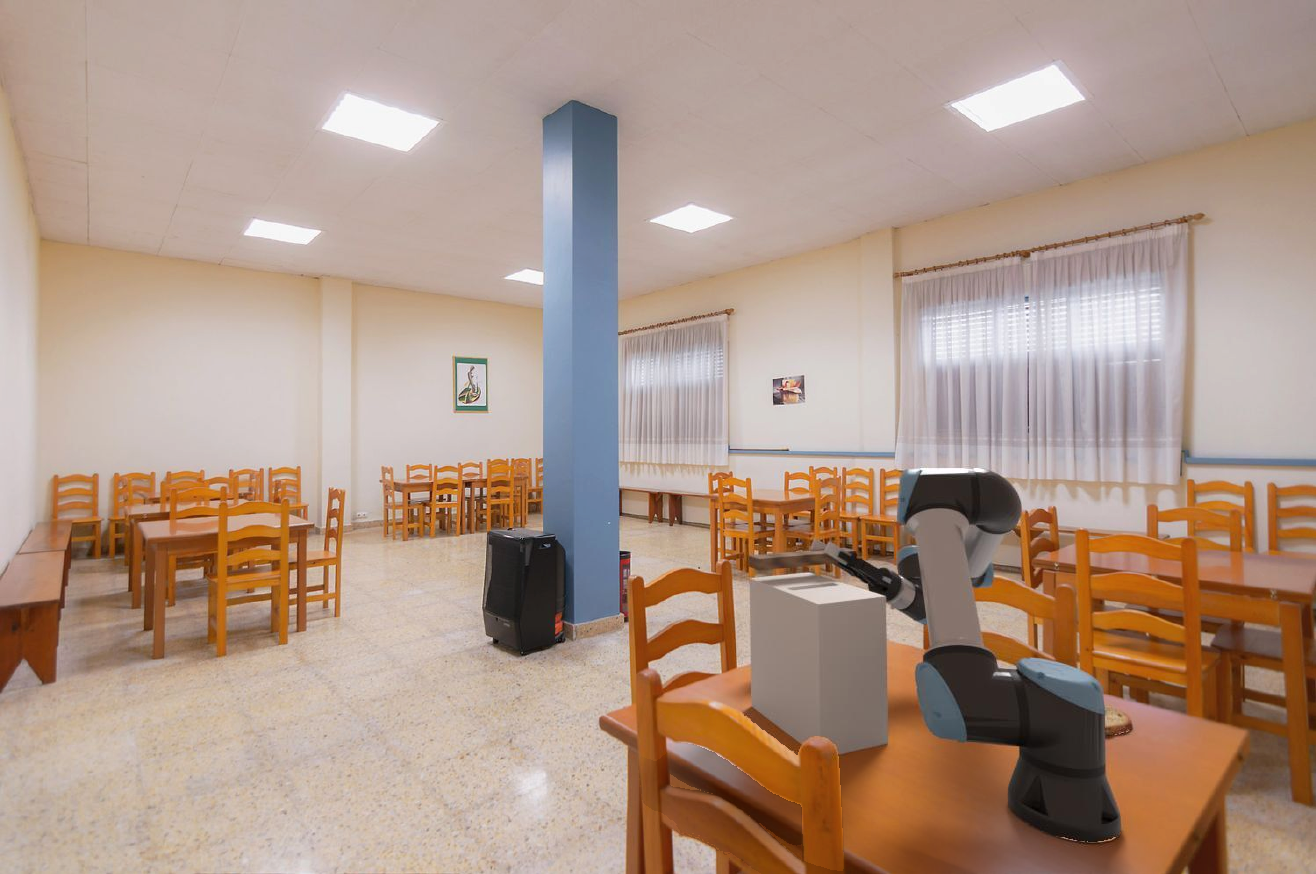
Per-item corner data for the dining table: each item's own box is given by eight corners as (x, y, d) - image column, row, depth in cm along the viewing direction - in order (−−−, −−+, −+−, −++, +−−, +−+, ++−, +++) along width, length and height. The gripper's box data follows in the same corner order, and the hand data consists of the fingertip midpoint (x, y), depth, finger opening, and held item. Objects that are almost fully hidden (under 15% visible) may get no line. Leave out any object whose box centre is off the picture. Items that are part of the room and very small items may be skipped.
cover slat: (844, 558, 151) (844, 547, 151) (856, 561, 146) (856, 550, 146) (748, 566, 141) (748, 555, 141) (759, 570, 137) (759, 558, 137)
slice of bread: (1135, 721, 134) (1134, 704, 134) (1124, 753, 120) (1124, 733, 120) (1038, 699, 146) (1038, 683, 146) (1019, 725, 132) (1018, 707, 133)
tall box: (810, 695, 149) (808, 572, 149) (888, 743, 124) (885, 596, 125) (751, 706, 143) (749, 578, 143) (820, 758, 119) (818, 604, 119)
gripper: (911, 610, 144) (837, 566, 137) (860, 594, 160) (791, 554, 153) (923, 580, 145) (851, 535, 138) (871, 567, 162) (804, 526, 154)
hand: (820, 545), depth 146 cm, fingers closed on cover slat, 5 cm apart
